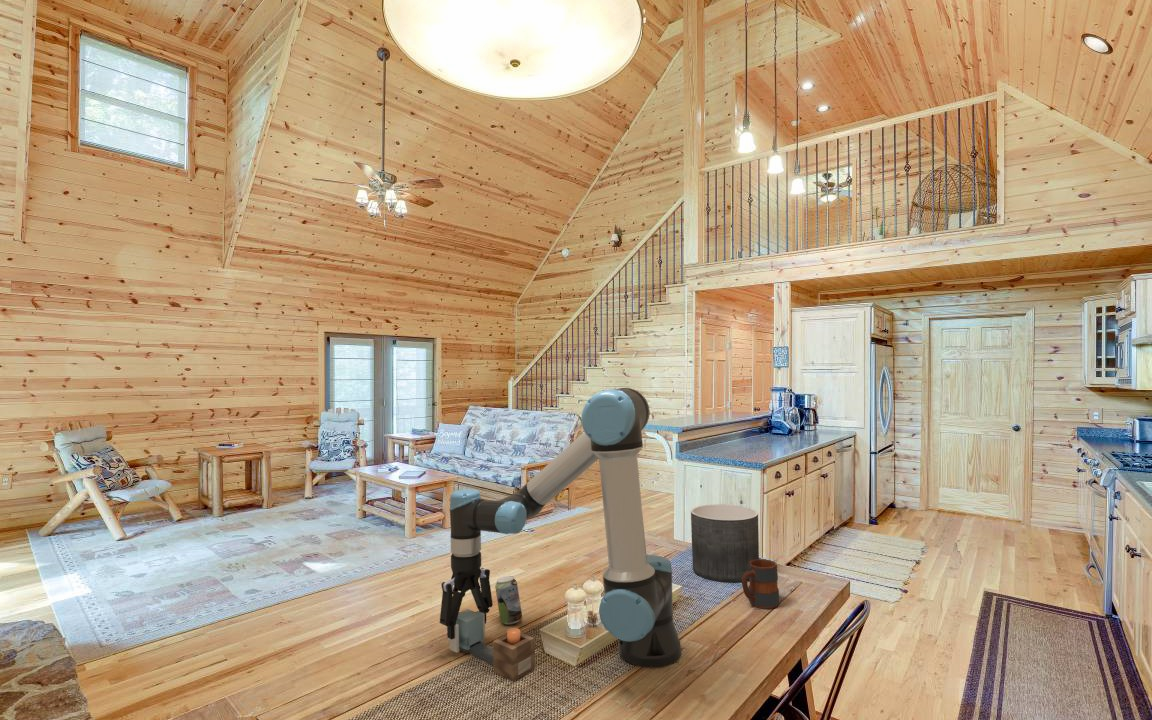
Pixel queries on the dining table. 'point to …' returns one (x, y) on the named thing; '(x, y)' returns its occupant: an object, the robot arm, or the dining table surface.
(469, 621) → the carriage
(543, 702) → the dining table surface
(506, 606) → the beverage can
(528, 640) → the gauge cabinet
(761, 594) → the mug
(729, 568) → the planter
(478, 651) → the rail
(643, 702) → the dining table surface
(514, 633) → the orange rounded piece
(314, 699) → the dining table surface
